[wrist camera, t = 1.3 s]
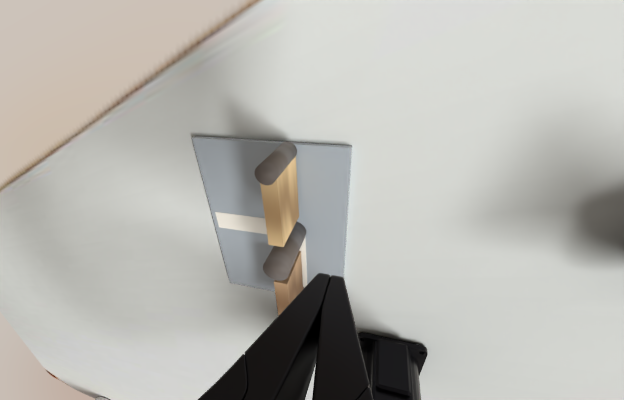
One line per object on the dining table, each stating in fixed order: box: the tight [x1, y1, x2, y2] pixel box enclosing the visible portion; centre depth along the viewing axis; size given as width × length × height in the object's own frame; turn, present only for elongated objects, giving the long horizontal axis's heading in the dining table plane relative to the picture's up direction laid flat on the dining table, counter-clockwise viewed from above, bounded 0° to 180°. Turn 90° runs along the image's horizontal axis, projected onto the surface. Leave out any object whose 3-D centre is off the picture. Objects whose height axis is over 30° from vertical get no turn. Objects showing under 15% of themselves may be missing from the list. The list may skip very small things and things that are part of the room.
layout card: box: [192, 136, 352, 291], centre depth 21 cm, size 15×11×1 cm
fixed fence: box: [263, 222, 306, 316], centre depth 20 cm, size 8×2×5 cm, turn 1°
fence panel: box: [255, 141, 299, 247], centre depth 16 cm, size 6×1×4 cm, turn 1°
